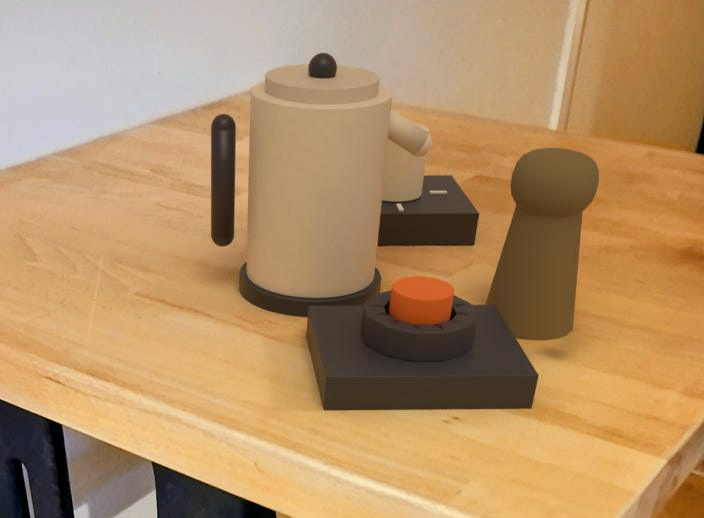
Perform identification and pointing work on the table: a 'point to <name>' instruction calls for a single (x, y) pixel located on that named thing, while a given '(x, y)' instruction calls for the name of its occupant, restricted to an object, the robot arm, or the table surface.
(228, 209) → the kettle
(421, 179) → the knob
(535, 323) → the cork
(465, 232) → the panel
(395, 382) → the switch block
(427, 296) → the power button
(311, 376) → the table surface
